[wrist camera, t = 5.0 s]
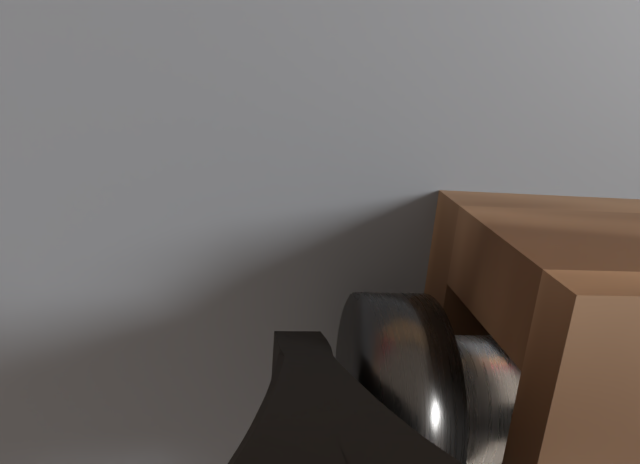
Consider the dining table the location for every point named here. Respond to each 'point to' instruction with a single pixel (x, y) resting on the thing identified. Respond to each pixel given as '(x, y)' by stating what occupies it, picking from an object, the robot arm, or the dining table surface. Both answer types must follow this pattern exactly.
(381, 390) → the shaft
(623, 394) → the bearing block
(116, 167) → the base board
